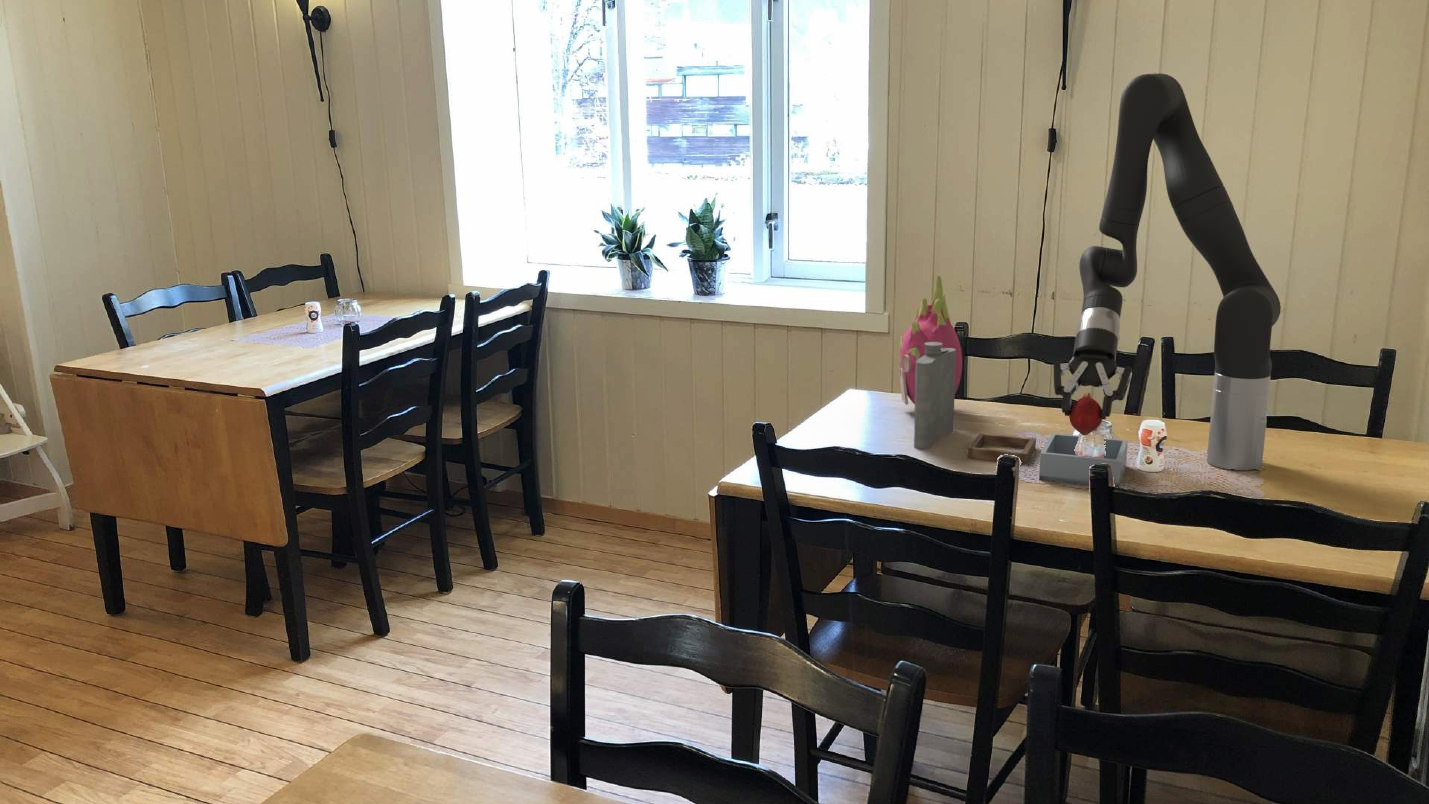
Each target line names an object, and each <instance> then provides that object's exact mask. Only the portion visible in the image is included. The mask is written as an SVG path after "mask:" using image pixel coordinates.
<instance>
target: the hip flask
mask: <svg viewBox="0 0 1429 804" xmlns="http://www.w3.org/2000/svg"><path fill="white" fill-rule="evenodd" d="M924 348H926V349H925V353H926V355H924V356H922V357H921V358H919V359H918V360H917V361H916V378H915V404H914V425H913V426H914V431H913V434H914V435H913V448H914V449H916V450H922V449H924V450H929V449H931V447H932V445H934V444H935V443H936V442H937V441H939V440H940V439H942V438H944V437H945V435H946V436H947V434H948V435H950V434H953V433H954V430H955V429H954V426H955V425H954V423H955V422H954V421H955V394H956V393H955V365H956V349H953V348H943V344H942V343H939V342H927V343H924ZM941 348H942V349H941ZM952 432H953V433H952ZM941 437H942V438H941Z"/></svg>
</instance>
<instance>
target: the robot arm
mask: <svg viewBox="0 0 1429 804" xmlns="http://www.w3.org/2000/svg"><path fill="white" fill-rule="evenodd" d="M1117 124H1118V125H1117V134H1116V135H1117V136H1116V142H1115V143H1116V144H1115V149H1114V150H1115V151H1114V158H1113V165H1112V169H1111V175H1110V179H1109V184H1108V188H1107V192H1106V196H1105V201H1104V204H1103V207H1102V212H1101V216H1100V220H1099V225H1098V226H1099V227H1098V230H1099V232H1100V233H1101V234H1102V235H1105V236H1106V237H1109V238H1112V239H1114V240H1116V241H1118V242H1119V243H1120V244H1121V245H1122V249H1116V248H1111V247H1104V246H1099V245H1092V246H1090V247H1088V248H1086V249H1085V250H1084V251H1083V252H1082V254H1081V256H1080V260H1079V275H1080V279H1081V280H1080V281H1081V284H1082V291H1083V301H1082V306H1081V313H1080V316H1079V317H1080V318H1079V320H1078V323H1077V328H1076V329H1077V330H1076V335H1075V340H1074V345H1073V346H1074V347H1073V352H1072V357H1071V360H1069V361H1068V362H1067V363H1065V362H1064V363H1063V362H1062V363H1061V362H1060V361H1059V360H1055V361H1054V362H1053V388H1054V394H1055V395H1056V396H1061V397H1062V400H1061V407H1060V408H1061V412H1062V413H1064V416H1065V417H1069V413H1070V409H1071V407H1072V402H1073V401H1072V397H1073V396H1074V394H1075V393H1076V392H1078V390H1079V389H1080V388H1081V387H1088V386H1089V387H1090V386H1091V387H1095V388H1099V387H1100V390H1101V393H1102V394H1103V401H1102V407H1101V409H1102V414H1101V417H1102V420H1106V419H1107V417H1109V418H1110V416H1111V413H1112V407H1113V406H1112V405H1113V402H1114V401H1117V400H1118V401H1124V399H1125V396H1126V393H1127V391H1128V388H1129V385H1130V382H1131V379H1132V375H1133V373H1132V370H1133V369H1132V367H1131V366H1125V367H1120V366H1117V364H1116V359H1117V353H1118V352H1117V351H1118V346H1119V340H1120V332H1121V331H1120V329H1121V315H1122V309H1123V308H1122V307H1123V300H1124V297H1123V294H1122V293H1121V291H1120V290H1118V288H1127V287H1128V286H1131V284H1132V283H1133V282H1134V281H1135V279H1136V277H1137V274H1138V259H1137V258H1138V255H1137V243H1138V242H1137V240H1138V239H1137V238H1138V233H1139V232H1138V231H1139V228H1140V227H1139V226H1140V223H1141V220H1142V215H1143V211H1144V209H1145V204H1146V197H1147V190H1148V165H1149V159H1150V157H1149V156H1150V153H1151V148H1152V144H1153V141H1154V144H1155V145H1156V147H1157V149H1158V152H1159V154H1160V157H1161V161H1162V166H1163V173H1164V180H1165V181H1164V182H1165V186H1166V187H1165V188H1166V192H1167V197H1168V200H1169V202H1170V205H1171V208H1172V210H1173V212H1174V215H1175V217H1176V220H1177V221H1178V223H1179V225H1180V227H1181V229H1182V230H1183V232H1184V234H1185V236H1186V237H1187V238H1188V240H1189V241H1190V242H1191V243H1190V244H1192V245H1193V246H1194V248H1195V249H1196V251H1198V252H1199V254H1200V255H1201V256H1202V258H1204V260H1205V261H1206V262H1207V263H1208V265H1209V267H1210V268H1211V270H1212V272H1213V274H1214V276H1215V278H1216V281H1217V283H1218V285H1219V288H1220V290H1221V294H1222V299H1221V300H1220V302H1219V304H1218V307H1217V311H1216V315H1215V326H1214V327H1215V329H1214V342H1213V344H1214V345H1213V357H1214V362H1215V364H1214V365H1215V366H1214V367H1215V368H1214V377H1213V378H1214V380H1213V389H1212V390H1213V391H1212V400H1211V412H1210V419H1209V421H1210V422H1209V432H1208V441H1207V442H1208V443H1207V452H1206V453H1207V455H1206V462H1207V463H1208V464H1210V465H1212V466H1214V467H1217V468H1221V469H1225V470H1231V469H1235V470H1234V471H1248V470H1247V469H1262V468H1263V460H1264V449H1265V439H1266V432H1267V422H1268V421H1267V418H1268V417H1267V414H1268V406H1269V405H1268V404H1269V395H1270V394H1269V393H1270V386H1271V385H1270V384H1271V375H1272V367H1273V361H1272V359H1271V354H1270V353H1271V352H1270V351H1271V340H1272V331H1273V326H1274V325H1276V324H1277V321H1278V320H1279V317H1280V315H1281V301H1280V299H1279V296H1278V294H1277V292H1276V290H1275V289H1274V287H1273V286H1272V284H1271V283H1270V281H1269V279H1268V278H1267V276H1266V275H1265V273H1264V271H1263V270H1262V267H1261V266H1260V265H1259V263H1258V261H1257V259H1256V258H1255V256H1254V254H1253V252H1252V249H1251V246H1250V245H1249V242H1248V239H1247V236H1246V234H1245V231H1244V228H1243V226H1242V223H1241V222H1240V219H1239V217H1238V214H1237V212H1236V210H1235V207H1234V204H1233V202H1232V200H1231V198H1230V196H1229V194H1228V191H1227V189H1226V187H1225V185H1224V183H1223V180H1222V179H1221V177H1220V175H1219V174H1218V171H1217V168H1216V167H1215V165H1214V163H1213V161H1212V159H1211V157H1210V155H1209V153H1208V151H1207V149H1206V147H1205V145H1204V143H1203V142H1202V140H1201V138H1200V136H1199V133H1198V130H1197V128H1196V125H1195V122H1194V120H1193V116H1192V114H1191V110H1190V107H1189V105H1188V101H1187V98H1186V94H1185V92H1184V90H1183V87H1182V86H1181V84H1180V82H1179V81H1178V80H1177V79H1176V78H1174V77H1173V76H1172V75H1169V74H1168V73H1167V74H1166V73H1157V72H1155V73H1143V74H1141V75H1137V76H1136V77H1134V78H1132V79H1131V80H1130V81H1128V82H1127V84H1126V85H1125V86H1124V88H1123V90H1122V93H1121V96H1120V100H1119V109H1118V122H1117ZM1115 287H1116V288H1115ZM1067 371H1069V372H1070V374H1071V377H1070V378H1069V381H1068V383H1066V385H1065V386H1064V385H1062V377H1063V376H1065V375H1066V372H1067ZM1116 374H1117V375H1118V380H1119V384H1118V385H1117V388H1116V389H1115V390H1113V389H1112V387H1111V385H1110V379H1112V378H1113V377H1114V376H1115V375H1116Z"/></svg>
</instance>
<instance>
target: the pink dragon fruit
mask: <svg viewBox="0 0 1429 804" xmlns="http://www.w3.org/2000/svg"><path fill="white" fill-rule="evenodd" d="M943 290H944V289H943V284H942V277H941V276H939V275H938V276H937V277H936V283H935V288H934V292H933V296H932V301H931V302H930V303H931V304H929V305H928V300H927V298H926V297H924V298H923V299H922V300H921V302H920V306H919V307H920V308H918V307H917V308H916V309H915V310H916V313H917V314H916V317H915V320H914V321H913V322H912V324H911V325H910V326H909V328H908V329H907V330H906V332H905V333H904V334H903V335H900V339H899V355H900V356H899V369H898V370H899V371H898V372H899V373H898V374H899V382H900V383H899V384H900V393H901V401H902V402H903V403H904V404H905V405H906V406H907V405H909V400H910V401H911V403H913V405H915V378H916V361H917V360H918V359H919V358H921V357H922V356H924V355H926V353H925V349H926V348H924V343H927V342H939V343H942V344H943V348H953V349H956V365H955V394H956V393H957V390H958V388H959V386H960V382H961V378H962V372H963V354H962V347H961V344H960V339H959V337H958V335H957V333H956V330H955V327H954V326H953V325H952V323H951V318H950V315H949V311H948V305H947V301H946V294H944V292H943ZM941 349H942V348H941Z"/></svg>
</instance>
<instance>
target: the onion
mask: <svg viewBox="0 0 1429 804" xmlns="http://www.w3.org/2000/svg"><path fill="white" fill-rule="evenodd" d="M1083 394H1084V395H1083V396H1082V397H1081V398H1079V399H1078V400H1076V401H1075V402H1074V403H1073V404H1071V407H1070V413H1069V416H1068V419H1069V422H1070V424H1071V426H1072V427H1073V428H1074V430H1076V431H1077V432H1078V433H1079V434H1081V436H1088V435H1089V434H1091V433H1092V432H1094V431H1096V430H1097V429H1098V428H1099V426H1101V424H1102V422H1103V419H1102V417H1101V414H1102V407H1101V405H1100V404H1099V403H1098V401H1096V400H1095V399H1094V398H1093V397H1091V396H1092V394H1091V393H1090V392H1088V391H1087V392H1084V393H1083Z"/></svg>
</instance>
